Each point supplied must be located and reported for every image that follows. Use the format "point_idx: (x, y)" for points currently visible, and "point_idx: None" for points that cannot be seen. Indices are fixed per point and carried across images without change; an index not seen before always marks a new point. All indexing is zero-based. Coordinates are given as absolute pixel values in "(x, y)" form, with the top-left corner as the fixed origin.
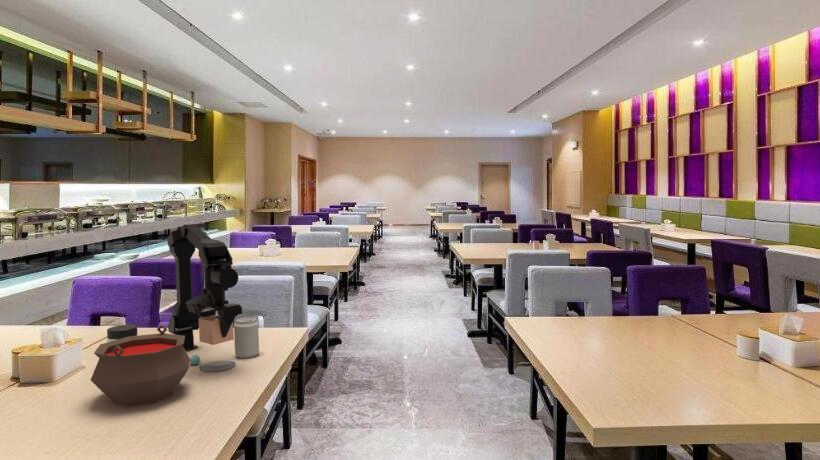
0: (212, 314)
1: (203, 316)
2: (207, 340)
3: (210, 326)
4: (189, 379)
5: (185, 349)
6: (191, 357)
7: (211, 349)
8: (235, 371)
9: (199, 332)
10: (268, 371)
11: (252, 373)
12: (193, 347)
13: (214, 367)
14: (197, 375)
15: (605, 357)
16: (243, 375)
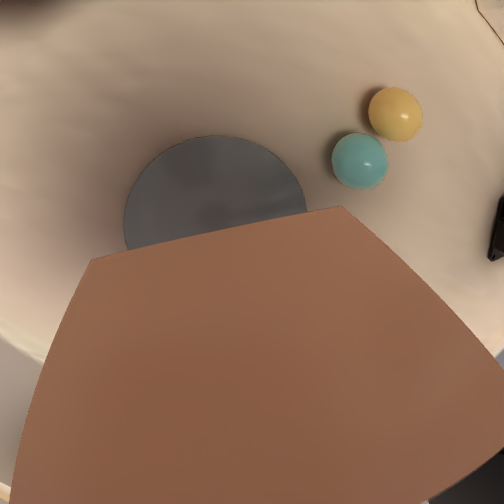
0: (443, 499)
1: (501, 457)
2: (187, 253)
3: (66, 439)
4: (109, 37)
5: (501, 217)
6: (369, 143)
7: (447, 286)
8: (81, 262)
9: (391, 255)
10: (29, 341)
11: (26, 299)
12: (493, 244)
13: (190, 202)
14: (142, 87)
15: (4, 490)
16: (17, 265)
